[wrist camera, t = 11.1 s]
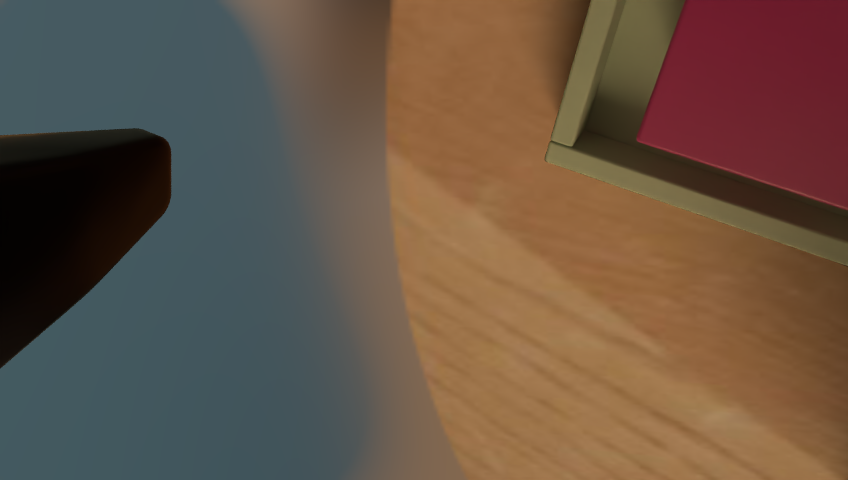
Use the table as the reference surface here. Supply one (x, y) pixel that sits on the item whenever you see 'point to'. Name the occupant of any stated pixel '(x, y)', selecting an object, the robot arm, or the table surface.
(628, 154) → the tray
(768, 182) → the mulberry block
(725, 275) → the table surface
